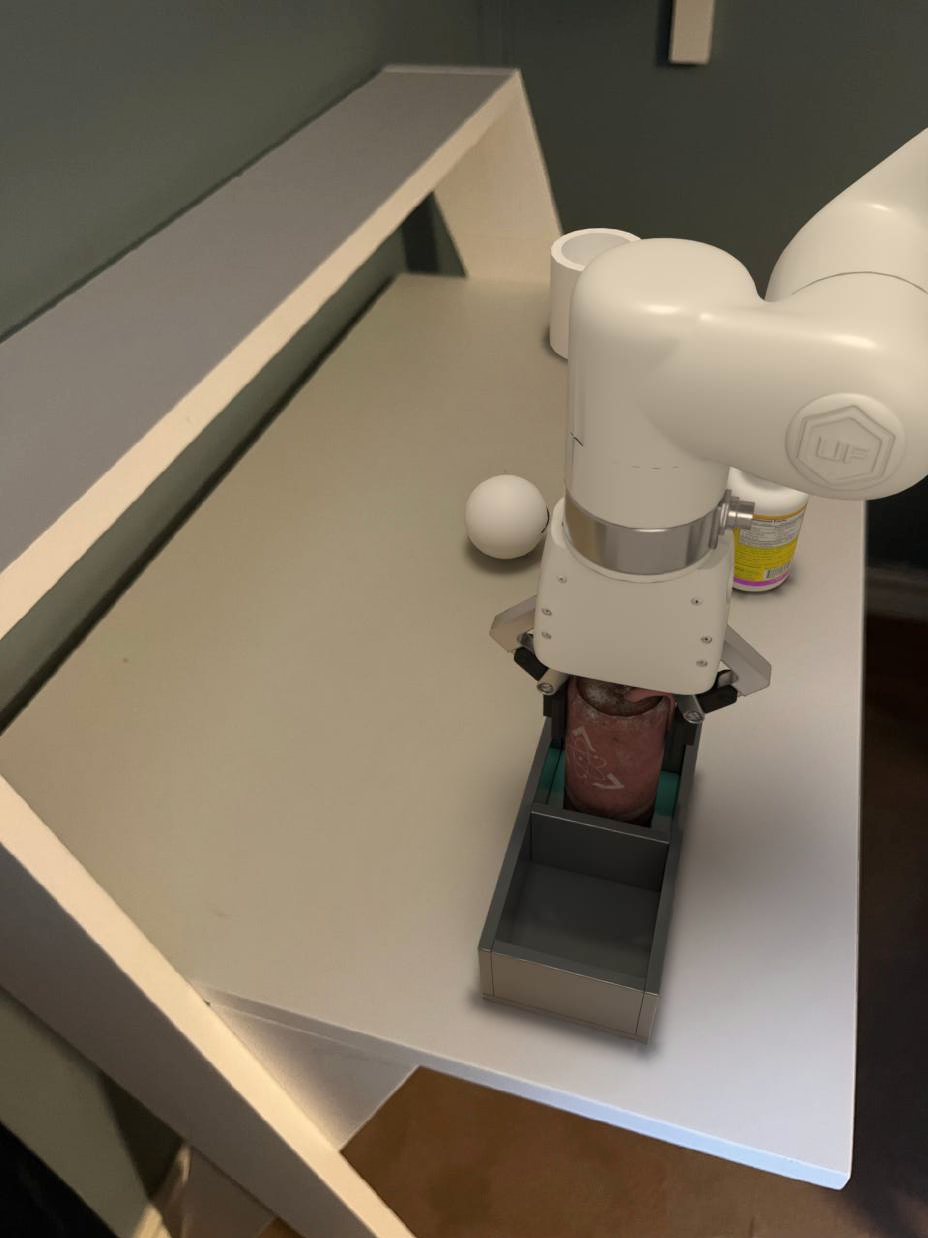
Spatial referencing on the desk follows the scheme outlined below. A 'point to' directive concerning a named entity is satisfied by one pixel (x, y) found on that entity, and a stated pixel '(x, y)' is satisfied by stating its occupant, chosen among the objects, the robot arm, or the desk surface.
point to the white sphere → (506, 516)
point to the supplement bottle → (765, 531)
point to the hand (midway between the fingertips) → (618, 730)
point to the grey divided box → (586, 901)
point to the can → (614, 749)
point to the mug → (574, 274)
